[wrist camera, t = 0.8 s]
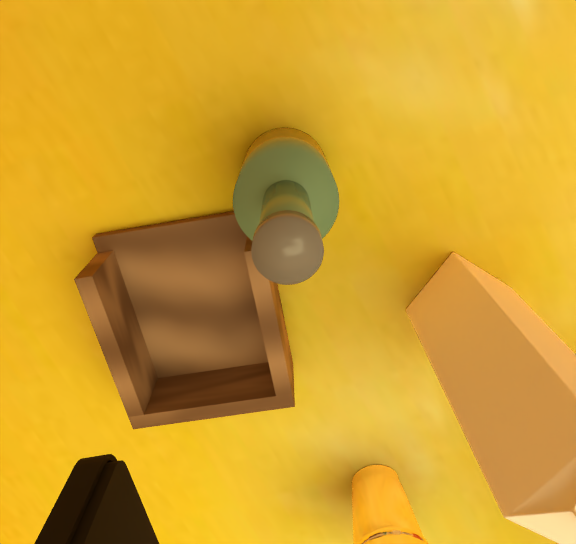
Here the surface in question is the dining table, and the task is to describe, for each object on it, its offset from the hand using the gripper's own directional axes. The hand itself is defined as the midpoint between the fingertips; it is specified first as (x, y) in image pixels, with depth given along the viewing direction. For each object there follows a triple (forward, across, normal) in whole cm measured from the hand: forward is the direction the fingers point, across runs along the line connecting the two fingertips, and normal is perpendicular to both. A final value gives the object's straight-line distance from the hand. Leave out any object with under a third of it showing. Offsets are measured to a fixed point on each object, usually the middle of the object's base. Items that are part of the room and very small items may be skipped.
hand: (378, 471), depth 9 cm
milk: (+27, -10, +12) cm, 32 cm away
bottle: (+27, +1, -1) cm, 27 cm away
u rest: (+27, +10, +8) cm, 30 cm away
